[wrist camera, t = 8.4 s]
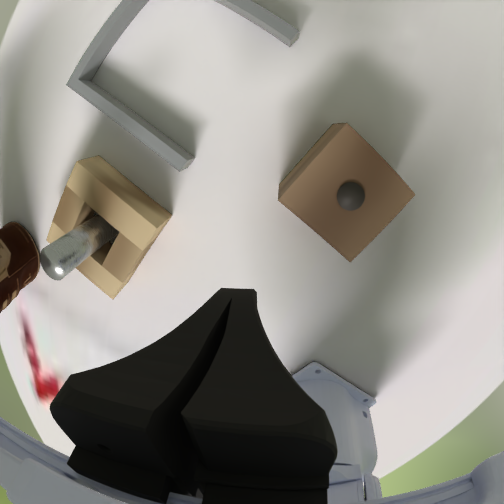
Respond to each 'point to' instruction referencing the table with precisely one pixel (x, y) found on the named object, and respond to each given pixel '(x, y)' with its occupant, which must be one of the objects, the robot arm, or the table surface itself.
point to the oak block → (109, 221)
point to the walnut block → (344, 190)
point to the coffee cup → (16, 261)
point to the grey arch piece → (122, 114)
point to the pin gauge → (76, 247)
